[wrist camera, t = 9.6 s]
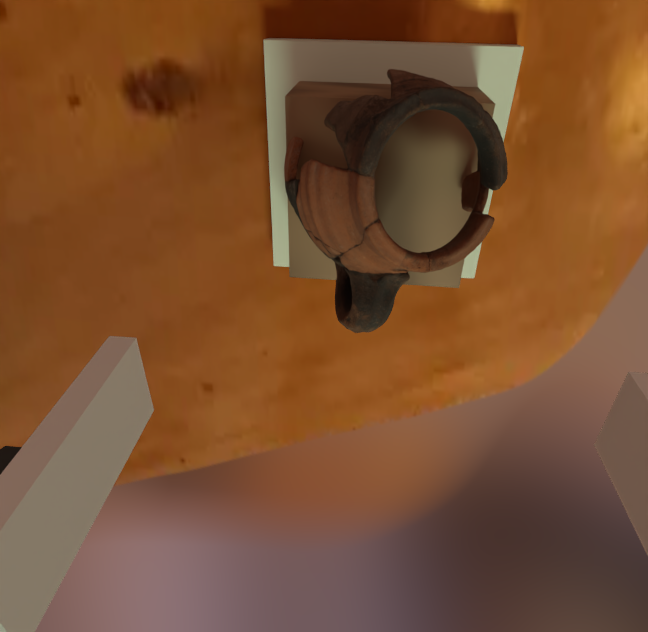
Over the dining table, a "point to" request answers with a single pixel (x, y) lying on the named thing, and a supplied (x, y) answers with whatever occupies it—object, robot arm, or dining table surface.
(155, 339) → the dining table surface
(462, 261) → the walnut block
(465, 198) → the pottery mug
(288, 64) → the build board
